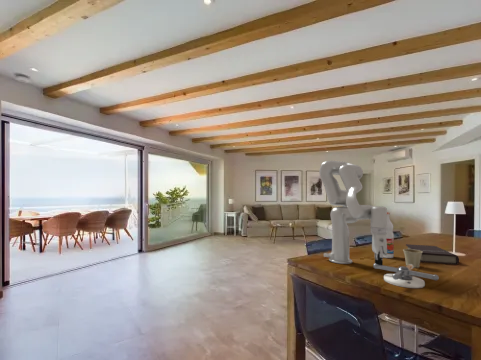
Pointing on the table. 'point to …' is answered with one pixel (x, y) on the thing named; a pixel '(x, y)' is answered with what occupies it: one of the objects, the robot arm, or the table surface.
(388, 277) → the stand
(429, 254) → the book
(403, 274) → the capstan
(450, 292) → the table surface
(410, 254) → the flower pot
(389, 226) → the fruit juice
